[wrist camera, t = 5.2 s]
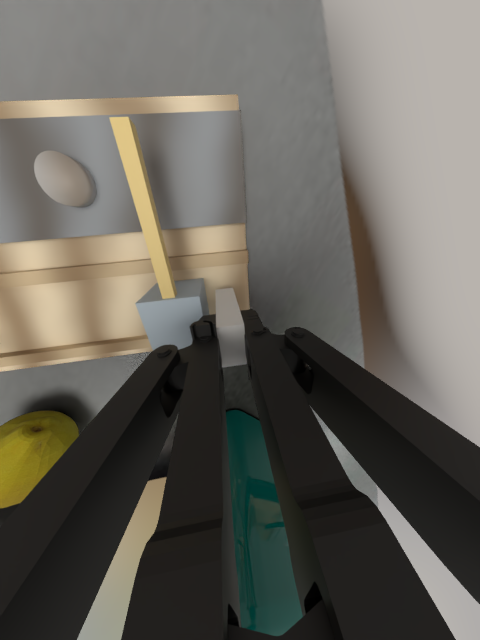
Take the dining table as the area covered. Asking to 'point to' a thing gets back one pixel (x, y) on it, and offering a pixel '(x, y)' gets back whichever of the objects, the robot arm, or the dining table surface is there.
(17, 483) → the lemon
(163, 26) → the dining table surface
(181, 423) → the robot arm
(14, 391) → the dining table surface
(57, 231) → the gauge board
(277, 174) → the dining table surface
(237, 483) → the pitcher
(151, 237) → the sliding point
